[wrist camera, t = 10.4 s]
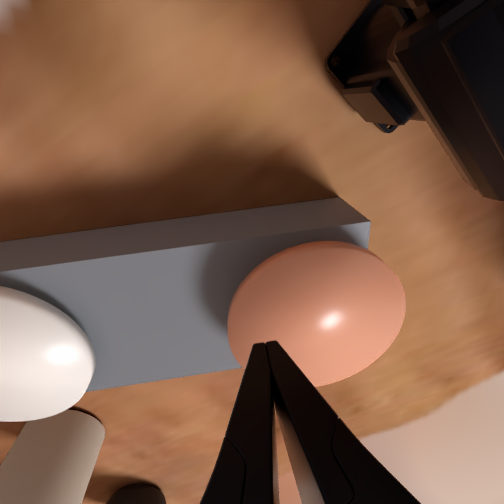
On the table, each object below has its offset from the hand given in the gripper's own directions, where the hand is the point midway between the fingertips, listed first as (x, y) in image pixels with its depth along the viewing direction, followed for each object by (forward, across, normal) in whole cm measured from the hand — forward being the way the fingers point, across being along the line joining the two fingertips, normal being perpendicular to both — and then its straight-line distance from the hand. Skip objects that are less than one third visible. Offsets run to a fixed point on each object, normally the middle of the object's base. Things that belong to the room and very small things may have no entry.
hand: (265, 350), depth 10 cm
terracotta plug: (+12, -4, +5) cm, 13 cm away
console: (+13, +6, +5) cm, 15 cm away
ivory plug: (+13, +16, +5) cm, 21 cm away
